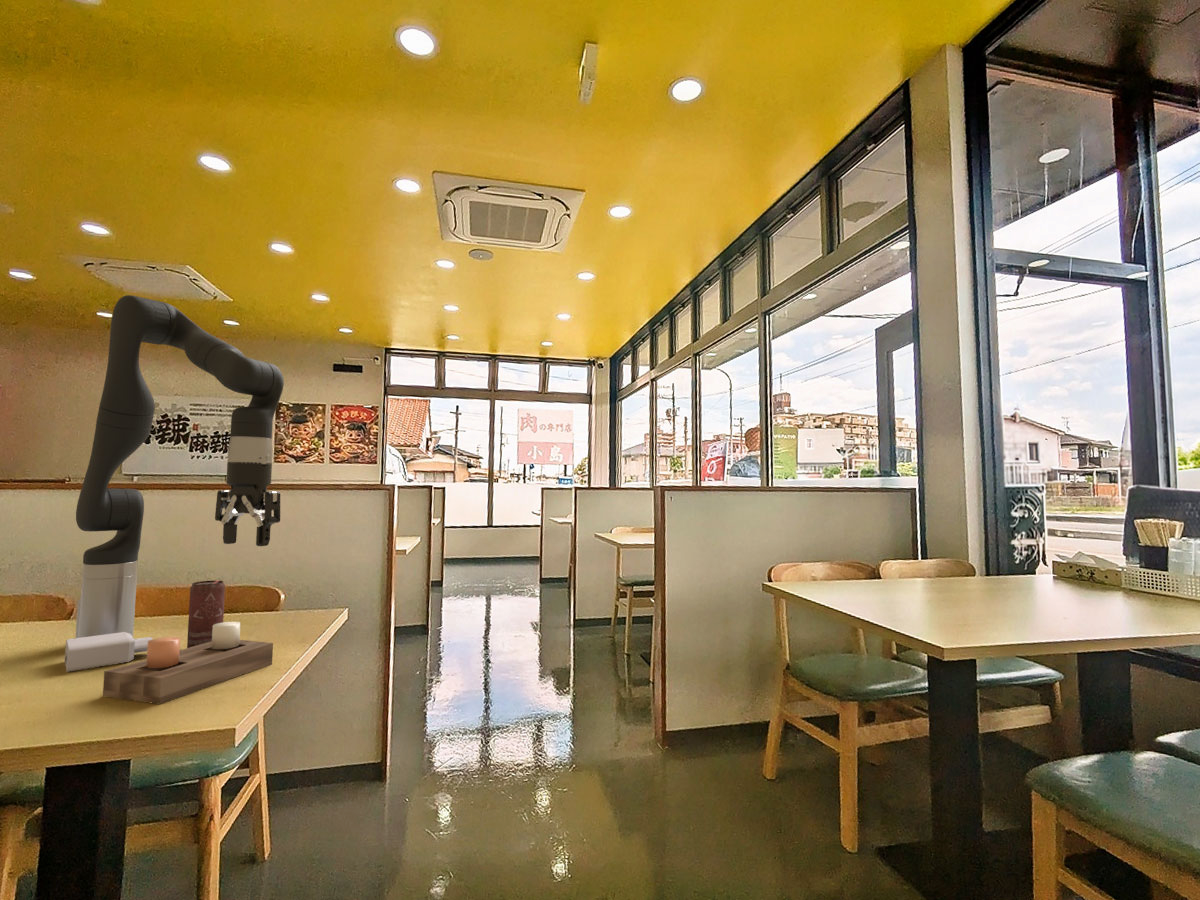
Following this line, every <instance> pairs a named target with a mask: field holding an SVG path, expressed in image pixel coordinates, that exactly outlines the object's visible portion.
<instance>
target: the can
mask: <svg viewBox="0 0 1200 900" xmlns="http://www.w3.org/2000/svg"><path fill="white" fill-rule="evenodd" d="M225 592H226V585H225V582H224V581H223V580H220V579H217V580H203V581H196V582H195V581H194V582H192V584H191V586H190V588H189V603H188V605H189V606H188V624H187V641H186V648H190V647H194V646H197V645H201V644H204V643H208V642H212V629H213V625H214V624H217V623H223V622H224V615H225V611H224V610H225V597H226V596H225V594H226V593H225Z"/></svg>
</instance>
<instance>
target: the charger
mask: <svg viewBox="0 0 1200 900" xmlns="http://www.w3.org/2000/svg"><path fill="white" fill-rule="evenodd" d="M153 639H154V638H152V636H147V637H141V638H139V637H138V638H134V636H133V637H132V635H131V634H129V633H126V632H121V633H113V634H105V635H97V636H89V637H82V638H76V637H75V638H68V639H67V638H66V640H65V652H64V666H65V670H66V672H67V673H71V672H77V671H83V670H82V669H84V670H89V669H88V668H90V669H94V668H93V667H97V668H100V667H99V666H103V667H106V666H105V665H109V666H113V665H112V664H116V665H119V664H118V663H122V664H125V663H124V662H128V663H130V662H131V661H133V660H134V659H135V654H137V653H143V652H147V647H148V641H150V640H153ZM129 661H130V662H129ZM76 670H77V671H76ZM70 671H71V672H70Z"/></svg>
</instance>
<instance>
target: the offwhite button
mask: <svg viewBox="0 0 1200 900" xmlns="http://www.w3.org/2000/svg"><path fill="white" fill-rule="evenodd" d="M240 636H241V621H223V623H217V624H214V625H213V629H212V649H228V648H233V647H236V646H239V642H240V640H241V637H240Z"/></svg>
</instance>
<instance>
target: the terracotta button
mask: <svg viewBox="0 0 1200 900" xmlns="http://www.w3.org/2000/svg"><path fill="white" fill-rule="evenodd" d="M152 639H153V640H150V641H148V647H147V651H146V652H147V653H146V659H147V665H146V667H147V668H164V667H169V666H173V665H176V664H178V663H179V653H180V650H181V637H179V636H165V637H158V638H152Z"/></svg>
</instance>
